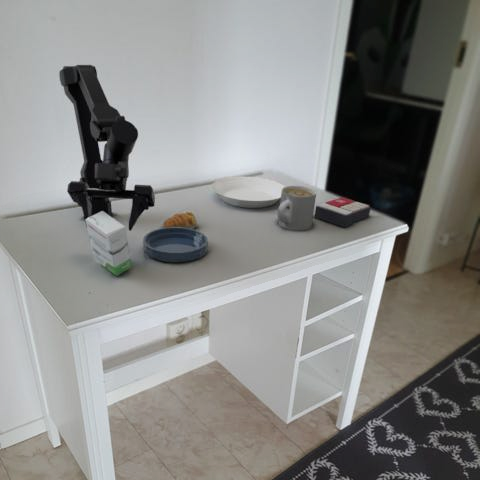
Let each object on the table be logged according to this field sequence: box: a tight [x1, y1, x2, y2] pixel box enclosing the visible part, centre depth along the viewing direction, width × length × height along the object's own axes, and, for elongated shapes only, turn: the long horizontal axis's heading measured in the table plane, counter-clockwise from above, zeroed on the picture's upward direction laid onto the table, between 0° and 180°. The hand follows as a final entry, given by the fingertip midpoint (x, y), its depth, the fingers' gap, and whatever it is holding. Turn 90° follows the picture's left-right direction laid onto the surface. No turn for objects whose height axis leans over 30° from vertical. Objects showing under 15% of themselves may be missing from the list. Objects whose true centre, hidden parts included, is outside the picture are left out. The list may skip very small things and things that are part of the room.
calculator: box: [313, 197, 371, 228], centre depth 152 cm, size 11×4×15 cm
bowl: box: [211, 176, 286, 209], centre depth 162 cm, size 25×25×4 cm
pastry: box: [162, 211, 198, 230], centre depth 138 cm, size 9×7×4 cm
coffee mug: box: [277, 185, 317, 231], centre depth 142 cm, size 13×10×10 cm
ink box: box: [84, 211, 133, 276], centre depth 111 cm, size 9×5×12 cm, turn 49°
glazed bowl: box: [142, 227, 209, 264], centre depth 125 cm, size 16×16×3 cm
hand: (108, 228), depth 110 cm, fingers open, 9 cm apart
